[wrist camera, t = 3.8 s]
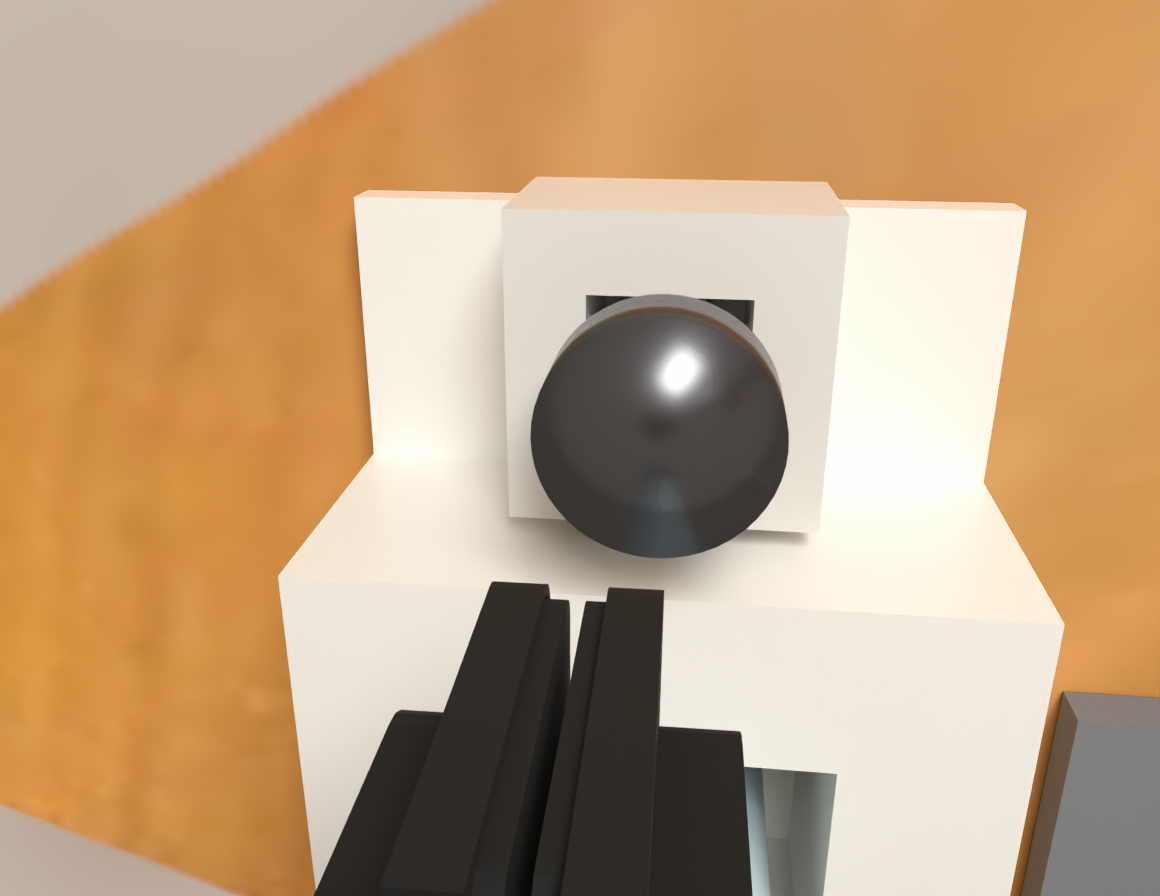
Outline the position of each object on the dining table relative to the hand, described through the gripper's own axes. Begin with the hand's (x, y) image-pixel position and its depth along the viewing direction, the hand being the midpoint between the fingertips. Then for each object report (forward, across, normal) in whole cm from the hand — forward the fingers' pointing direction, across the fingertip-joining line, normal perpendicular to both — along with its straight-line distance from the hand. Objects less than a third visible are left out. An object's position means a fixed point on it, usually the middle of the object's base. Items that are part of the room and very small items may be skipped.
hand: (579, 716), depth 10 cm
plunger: (+13, -1, 0) cm, 13 cm away
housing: (+15, -1, +7) cm, 17 cm away
